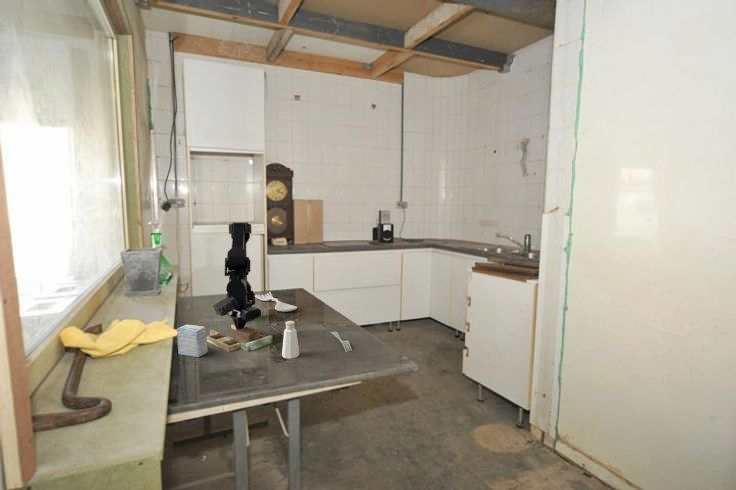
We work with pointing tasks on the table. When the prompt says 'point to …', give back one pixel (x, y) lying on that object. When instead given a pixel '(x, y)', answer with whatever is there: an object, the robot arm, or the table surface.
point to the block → (246, 335)
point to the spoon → (279, 306)
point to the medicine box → (192, 340)
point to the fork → (342, 341)
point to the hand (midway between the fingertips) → (239, 332)
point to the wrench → (276, 327)
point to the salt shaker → (290, 341)
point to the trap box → (228, 342)
